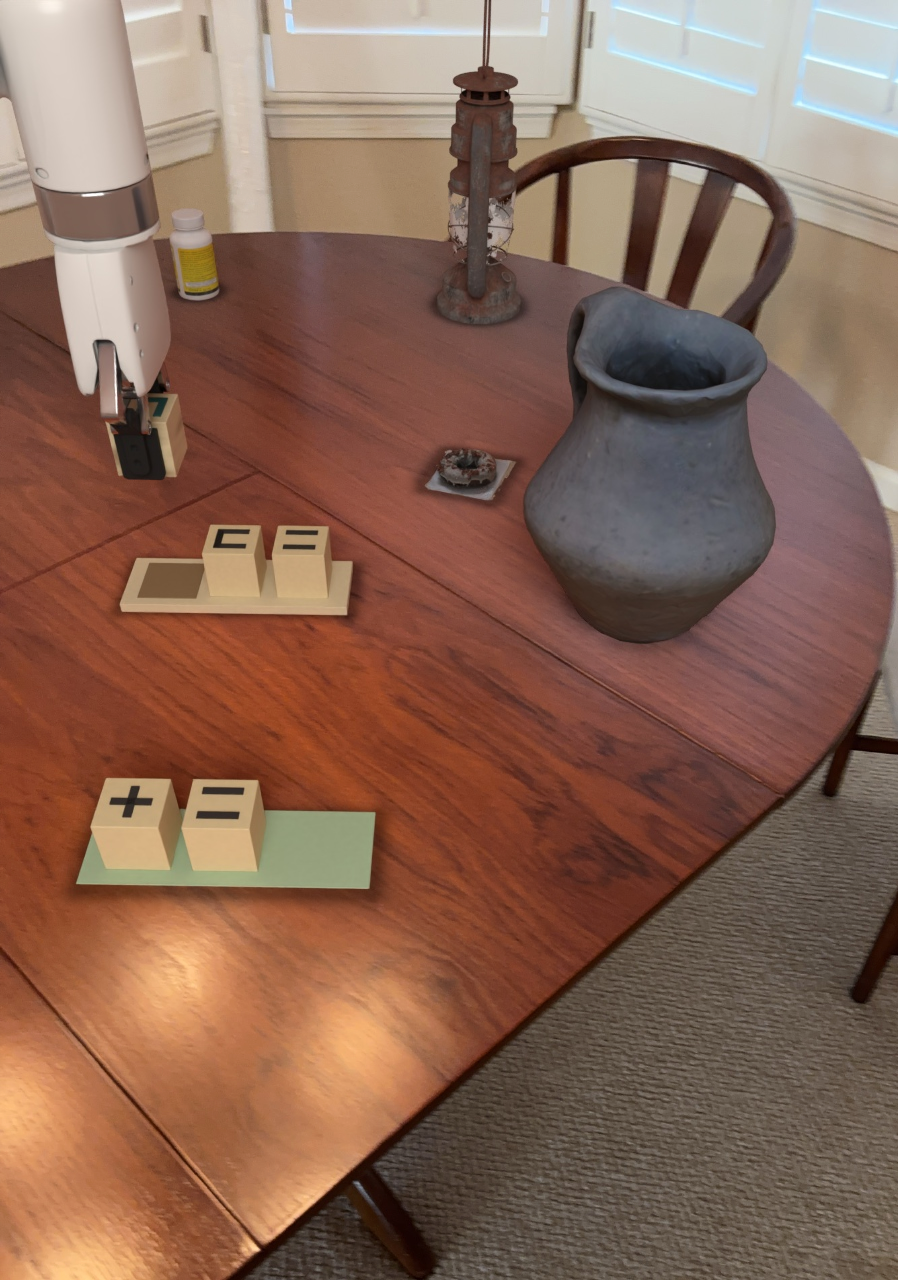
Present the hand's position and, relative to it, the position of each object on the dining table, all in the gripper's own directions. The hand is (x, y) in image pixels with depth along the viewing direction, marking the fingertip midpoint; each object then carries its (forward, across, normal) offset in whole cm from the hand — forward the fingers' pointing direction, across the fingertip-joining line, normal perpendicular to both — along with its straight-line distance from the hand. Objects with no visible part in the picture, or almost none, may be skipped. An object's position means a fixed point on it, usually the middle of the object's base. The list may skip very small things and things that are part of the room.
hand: (152, 457), depth 82 cm
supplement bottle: (+15, -68, -11) cm, 71 cm away
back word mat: (+15, -4, +4) cm, 16 cm away
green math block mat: (+15, +27, +9) cm, 32 cm away
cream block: (0, 0, 0) cm, 0 cm away
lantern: (+15, -66, +26) cm, 72 cm away
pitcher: (+15, -3, +39) cm, 42 cm away
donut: (+15, -24, +25) cm, 38 cm away
